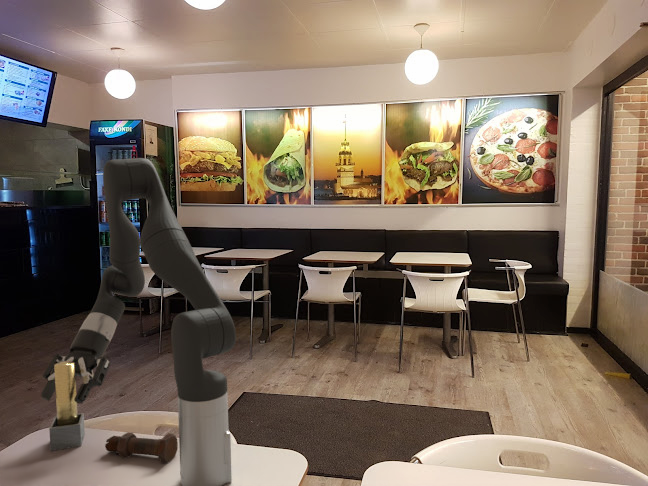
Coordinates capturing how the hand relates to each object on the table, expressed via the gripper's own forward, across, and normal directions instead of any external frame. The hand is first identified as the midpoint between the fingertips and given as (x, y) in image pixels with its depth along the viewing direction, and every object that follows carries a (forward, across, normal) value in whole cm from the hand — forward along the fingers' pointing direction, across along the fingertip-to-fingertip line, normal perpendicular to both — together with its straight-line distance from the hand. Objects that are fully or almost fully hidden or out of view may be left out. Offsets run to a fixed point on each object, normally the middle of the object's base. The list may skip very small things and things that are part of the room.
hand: (61, 400), depth 106 cm
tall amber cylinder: (+6, 0, +8) cm, 10 cm away
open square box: (+6, 0, +8) cm, 10 cm away
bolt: (+8, +20, +7) cm, 22 cm away
